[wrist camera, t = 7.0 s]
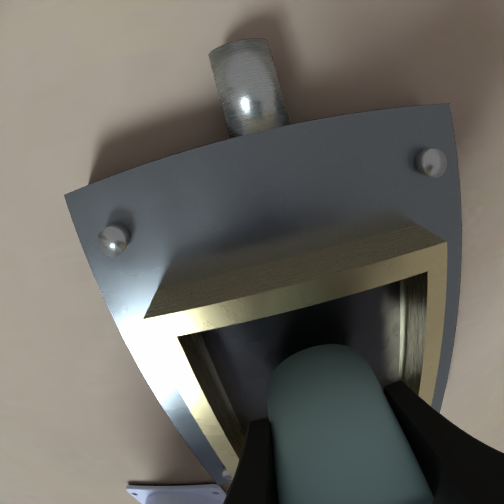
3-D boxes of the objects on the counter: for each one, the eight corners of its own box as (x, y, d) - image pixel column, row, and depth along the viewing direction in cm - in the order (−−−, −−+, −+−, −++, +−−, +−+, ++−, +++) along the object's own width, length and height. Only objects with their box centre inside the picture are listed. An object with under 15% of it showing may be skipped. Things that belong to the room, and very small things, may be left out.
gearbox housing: (423, 407, 17) (447, 449, 13) (218, 460, 18) (216, 510, 14) (404, 38, 10) (459, 14, 6) (69, 116, 10) (9, 115, 7)
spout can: (370, 403, 12) (429, 550, 5) (277, 428, 12) (298, 588, 5) (368, 330, 10) (467, 511, 3) (254, 360, 10) (273, 573, 4)
